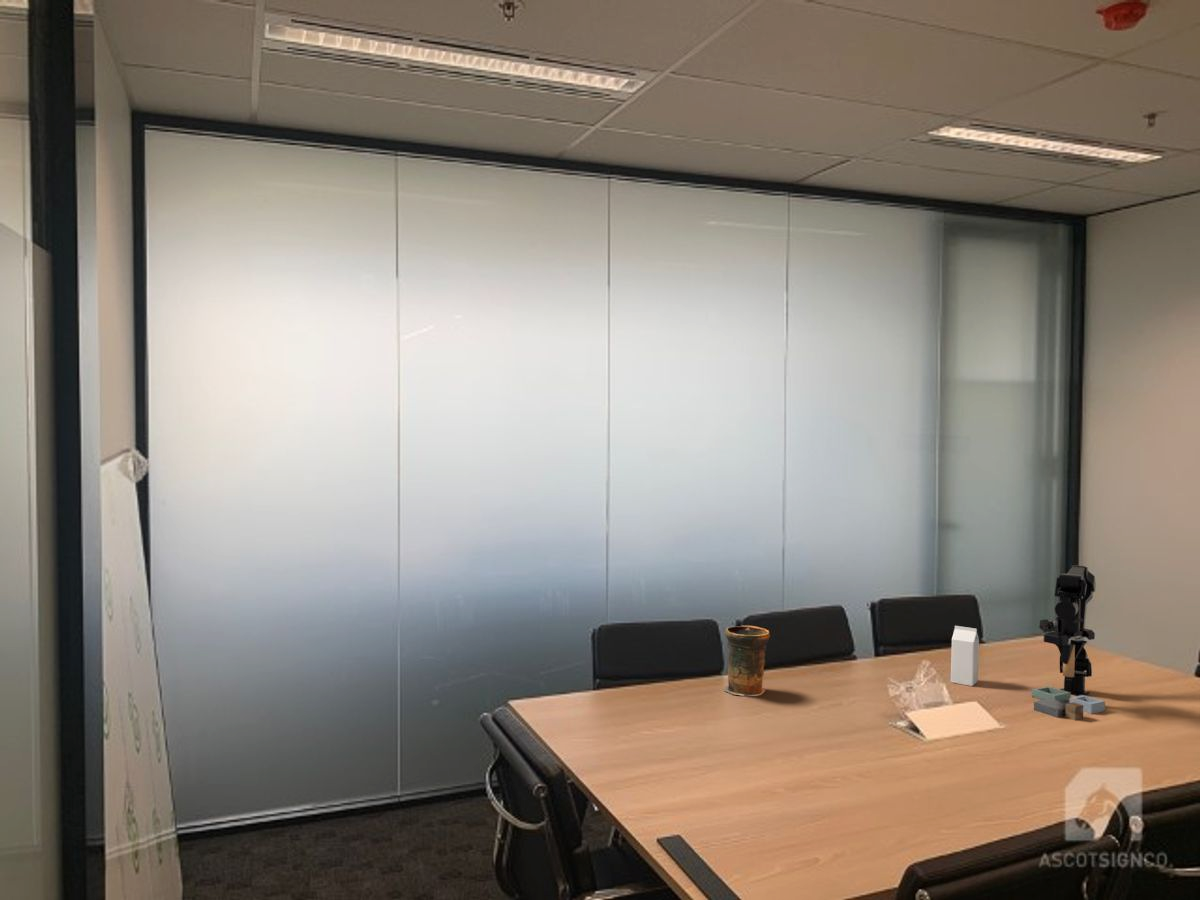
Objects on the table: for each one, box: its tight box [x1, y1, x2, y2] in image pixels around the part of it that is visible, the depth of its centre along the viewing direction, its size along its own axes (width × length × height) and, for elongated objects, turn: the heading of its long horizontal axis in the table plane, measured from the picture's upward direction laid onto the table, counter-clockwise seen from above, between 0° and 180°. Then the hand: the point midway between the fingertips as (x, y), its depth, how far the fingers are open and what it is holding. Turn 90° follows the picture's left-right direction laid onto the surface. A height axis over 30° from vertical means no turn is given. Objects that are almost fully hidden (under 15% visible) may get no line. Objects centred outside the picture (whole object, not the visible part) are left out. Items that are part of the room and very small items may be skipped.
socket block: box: [1068, 694, 1106, 715], centre depth 270 cm, size 7×7×3 cm
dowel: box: [1062, 645, 1075, 677], centre depth 275 cm, size 3×3×10 cm
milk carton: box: [950, 625, 980, 687], centre depth 297 cm, size 7×7×19 cm
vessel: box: [723, 625, 771, 697], centre depth 282 cm, size 14×14×20 cm
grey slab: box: [1033, 699, 1068, 719], centre depth 266 cm, size 8×8×3 cm
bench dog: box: [1065, 702, 1084, 721], centre depth 261 cm, size 4×3×4 cm
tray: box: [1031, 685, 1072, 703], centre depth 280 cm, size 8×8×2 cm
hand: (1068, 663), depth 275 cm, fingers closed on dowel, 3 cm apart
